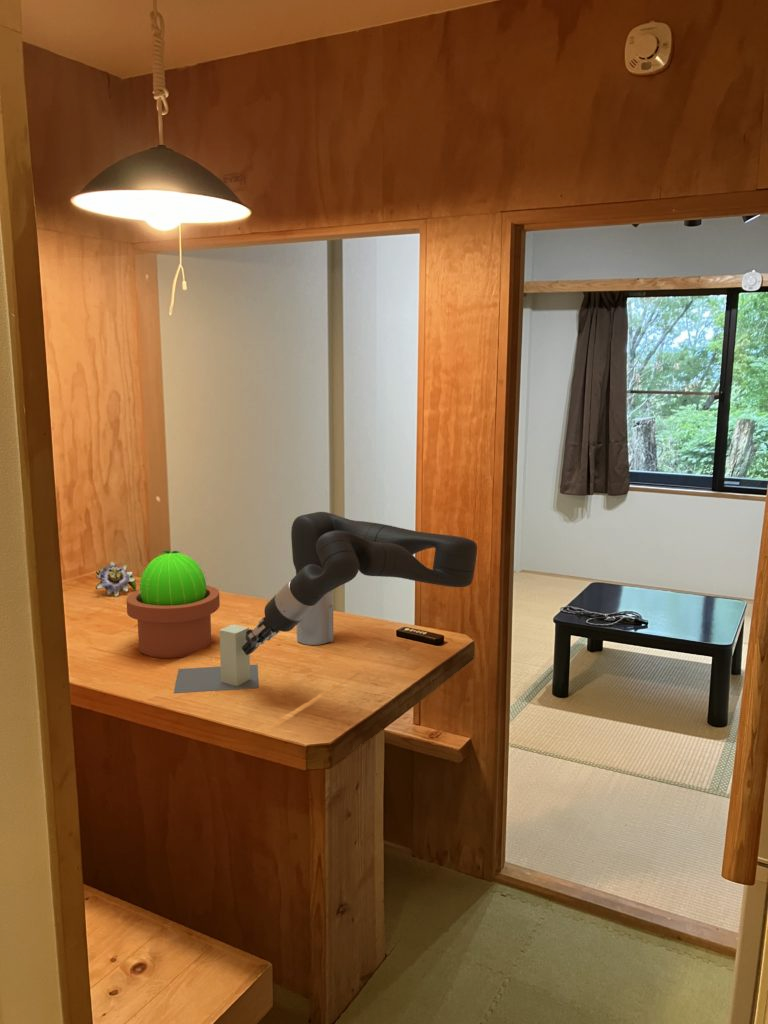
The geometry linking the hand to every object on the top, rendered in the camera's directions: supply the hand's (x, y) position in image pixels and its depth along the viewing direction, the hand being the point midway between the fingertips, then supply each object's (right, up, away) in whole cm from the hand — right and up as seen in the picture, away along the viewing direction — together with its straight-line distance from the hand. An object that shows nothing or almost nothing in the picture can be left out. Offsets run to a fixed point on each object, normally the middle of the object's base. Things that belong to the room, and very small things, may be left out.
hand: (246, 650), depth 173 cm
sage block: (-3, -7, +4) cm, 9 cm away
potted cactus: (-23, -4, +27) cm, 36 cm away
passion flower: (-53, +5, +74) cm, 91 cm away
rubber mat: (-7, -8, +5) cm, 12 cm away
